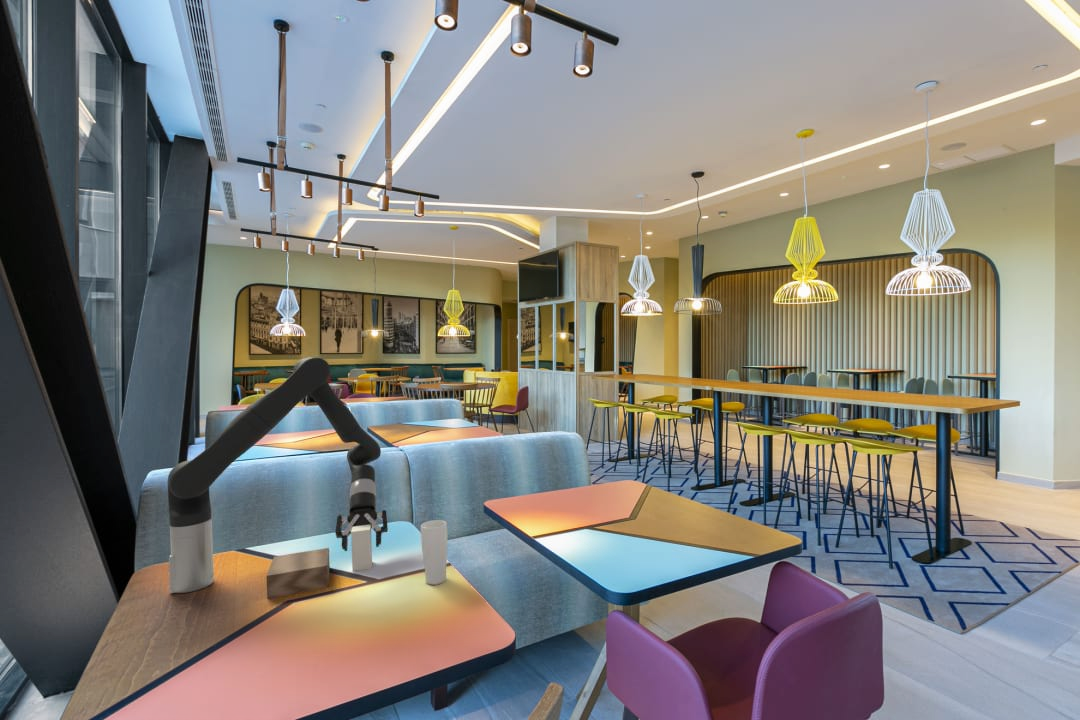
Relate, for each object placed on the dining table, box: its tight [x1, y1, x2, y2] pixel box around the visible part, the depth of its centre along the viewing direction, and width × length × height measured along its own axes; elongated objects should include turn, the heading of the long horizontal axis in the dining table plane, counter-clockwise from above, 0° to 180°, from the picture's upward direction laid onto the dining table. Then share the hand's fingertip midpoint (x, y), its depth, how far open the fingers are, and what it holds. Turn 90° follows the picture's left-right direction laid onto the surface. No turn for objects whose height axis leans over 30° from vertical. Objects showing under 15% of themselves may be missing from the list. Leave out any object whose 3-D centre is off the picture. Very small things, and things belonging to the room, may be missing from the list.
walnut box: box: [265, 547, 331, 600], centre depth 134 cm, size 14×14×6 cm
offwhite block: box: [350, 524, 373, 572], centre depth 142 cm, size 5×5×11 cm
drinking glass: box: [420, 519, 448, 586], centre depth 130 cm, size 7×7×15 cm
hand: (361, 547), depth 142 cm, fingers open, 8 cm apart
